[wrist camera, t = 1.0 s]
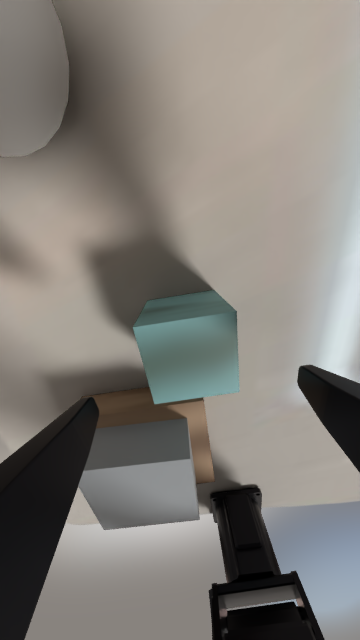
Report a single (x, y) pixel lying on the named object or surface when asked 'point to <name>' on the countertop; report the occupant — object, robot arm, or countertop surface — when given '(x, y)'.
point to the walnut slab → (142, 409)
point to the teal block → (189, 346)
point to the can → (31, 75)
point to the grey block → (141, 475)
